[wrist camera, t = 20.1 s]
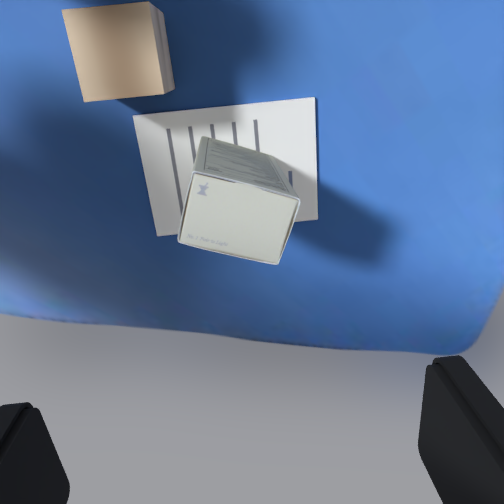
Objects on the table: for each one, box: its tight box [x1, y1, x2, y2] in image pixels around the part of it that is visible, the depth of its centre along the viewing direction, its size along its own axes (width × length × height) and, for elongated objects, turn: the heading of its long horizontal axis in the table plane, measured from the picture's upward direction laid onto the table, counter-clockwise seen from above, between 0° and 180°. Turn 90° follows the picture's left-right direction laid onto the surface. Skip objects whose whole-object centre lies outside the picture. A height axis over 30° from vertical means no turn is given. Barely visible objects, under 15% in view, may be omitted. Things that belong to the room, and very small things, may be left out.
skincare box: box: [178, 136, 301, 265], centre depth 28 cm, size 6×4×12 cm
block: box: [62, 1, 175, 102], centre depth 27 cm, size 5×5×6 cm
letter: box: [133, 97, 318, 236], centre depth 34 cm, size 14×10×1 cm
